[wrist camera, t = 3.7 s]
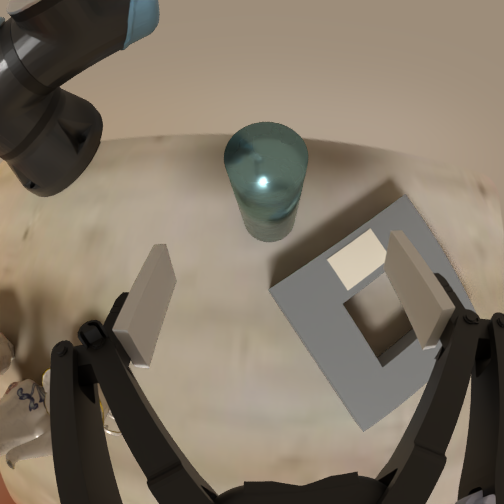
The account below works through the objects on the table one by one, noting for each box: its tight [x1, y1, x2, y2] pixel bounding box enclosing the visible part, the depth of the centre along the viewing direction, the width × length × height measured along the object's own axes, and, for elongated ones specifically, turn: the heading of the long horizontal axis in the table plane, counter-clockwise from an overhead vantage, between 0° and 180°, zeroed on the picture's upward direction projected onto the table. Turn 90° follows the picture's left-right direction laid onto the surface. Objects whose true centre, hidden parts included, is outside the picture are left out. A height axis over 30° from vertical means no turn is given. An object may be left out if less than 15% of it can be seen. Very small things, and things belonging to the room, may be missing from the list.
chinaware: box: [0, 332, 122, 469], centre depth 19 cm, size 28×17×17 cm, turn 89°
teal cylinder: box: [224, 122, 308, 242], centre depth 22 cm, size 5×5×12 cm
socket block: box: [268, 194, 476, 432], centre depth 24 cm, size 16×16×3 cm
